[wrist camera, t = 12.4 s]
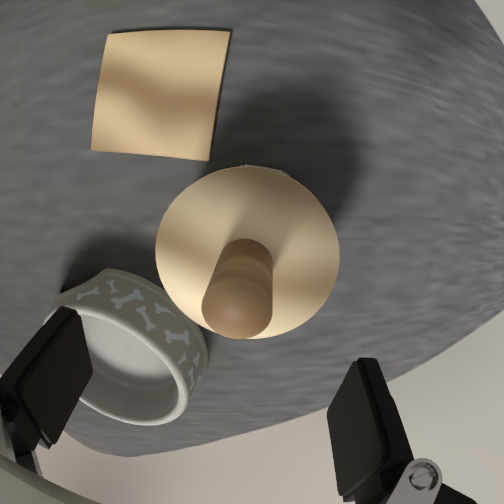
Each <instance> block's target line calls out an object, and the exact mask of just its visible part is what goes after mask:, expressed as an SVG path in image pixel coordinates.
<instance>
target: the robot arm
mask: <svg viewBox="0 0 504 504" xmlns="http://www.w3.org/2000/svg"><path fill="white" fill-rule="evenodd" d="M92 373H93V367H92V363H91V359H90V355H89V351H88V347H87V342H86V338H85V333H84V328H83V323H82V318H81V316H80V315H78V312H77V310H75V309H72V308H69V307H65V306H60V307H59V308H58V309H57V310H56V311H55V313H54V314H53V315H52V316H51V317H50V318H49V319H48V320H47V322H46V323H45V324H44V325H43V326H42V327H41V328H40V330H39V331H38V332H37V333H36V334H35V335H34V337H33V338H32V339H31V340H30V341H29V343H28V344H27V345H26V346H25V347H24V349H23V350H22V351H21V352H20V354H19V355H18V356H17V357H16V359H15V360H14V361H13V362H12V364H11V365H10V366H9V367H8V369H7V370H6V371H5V373H4V374H3V375H2V377H1V378H0V504H101V503H98V502H95V501H93V500H90V499H88V498H85V497H83V496H80V495H78V494H76V493H74V492H71V491H69V490H67V489H65V488H63V487H60V486H58V485H56V484H54V483H52V482H50V481H48V480H46V479H44V478H43V476H42V472H41V469H40V466H39V463H38V460H37V456H36V452H35V448H36V446H37V444H39V445H41V446H43V447H45V448H47V449H50V447H51V445H52V444H55V443H56V442H57V441H58V439H59V437H60V435H61V433H62V431H63V429H64V427H65V425H66V423H67V421H68V419H69V417H70V415H71V413H72V412H73V410H74V408H75V406H76V404H77V402H78V400H79V398H80V397H81V395H82V393H83V391H84V389H85V387H86V386H87V384H88V382H89V380H90V378H91V376H92ZM327 420H328V426H329V432H330V438H331V445H332V452H333V459H334V466H335V473H336V480H337V488H338V493H339V495H340V496H343V502H351V501H355V503H356V504H477V503H476V502H475V501H474V500H473V499H471V498H469V497H467V496H466V495H463V494H462V493H460V492H458V491H456V490H454V489H452V488H451V487H449V486H447V485H445V484H443V483H442V473H441V470H440V468H439V467H438V466H437V464H436V463H434V462H433V461H431V460H429V459H426V458H419V459H415V460H414V457H413V454H412V451H411V448H410V445H409V442H408V439H407V436H406V433H405V430H404V427H403V424H402V421H401V418H400V416H399V413H398V410H397V407H396V404H395V402H394V399H393V398H392V396H391V395H390V392H389V390H388V387H387V384H386V382H385V379H384V376H383V374H382V371H381V369H380V366H379V364H378V361H377V359H375V358H359V359H358V360H357V361H354V362H353V363H352V364H351V366H350V368H349V370H348V372H347V374H346V376H345V378H344V380H343V382H342V384H341V386H340V388H339V390H338V392H337V393H336V395H335V397H334V399H333V401H332V403H331V404H330V406H329V408H328V411H327Z"/></svg>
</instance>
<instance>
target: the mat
mask: <svg viewBox="0 0 504 504" xmlns="http://www.w3.org/2000/svg"><path fill="white" fill-rule="evenodd" d="M230 34H231V33H230V32H226V31H209V30H155V31H139V32H127V33H117V34H109V35H108V37H107V42H106V46H105V51H104V56H103V61H102V66H101V71H100V77H99V83H98V89H97V96H96V104H95V112H94V120H93V130H92V142H91V151H106V152H121V153H135V154H146V155H157V156H167V157H176V158H185V159H193V160H201V161H209V158H210V151H211V144H212V137H213V131H214V124H215V118H216V111H217V105H218V99H219V93H220V87H221V82H222V76H223V70H224V65H225V60H226V54H227V49H228V44H229V39H230Z"/></svg>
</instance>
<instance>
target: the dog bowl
mask: <svg viewBox="0 0 504 504" xmlns="http://www.w3.org/2000/svg"><path fill="white" fill-rule="evenodd" d="M61 290H62V289H61ZM61 290H60V291H59V293H58V295H57V297H56V299H55V302H54V304H53V305H52V307H51V309H50V311H49V313H48V314H47V316H46V318H45V320H44V322H43V325H44V324H45V323H46V322H47V320H48V319H49V318H50V317H51V316H52V315H53V314H54V313H55V311H56V310H57V309H58V308H59V307H60V306H65V307H69V308H72V309H75V310H77V312H78V315H80V316H81V318H82V323H83V328H84V333H85V338H86V342H87V347H88V351H89V355H90V359H91V363H92V367H93V373H92V376H91V378H90V380H89V382H88V384H87V386H86V387H85V389H84V391H83V393H82V395H81V397H80V398H79V399H80V400H81V401H82V402H84V403H85V404H87V405H88V406H90V407H91V408H93V409H95V410H97V411H98V412H100V413H102V414H104V415H107V416H109V417H111V418H114V419H117V420H120V421H123V422H127V423H131V424H137V425H159V424H164V423H167V422H170V421H172V420H174V419H176V418H177V417H178V416H180V415H181V414H182V413H183V411H184V410H185V408H186V407H187V405H188V403H189V402H190V400H191V398H192V396H193V395H194V393H195V391H196V389H197V388H198V387H199V385H200V384H201V382H202V381H203V379H204V377H205V374H206V371H207V366H208V351H207V346H206V343H205V340H204V337H203V335H202V333H201V331H200V329H199V327H198V325H197V324H196V322H194V321H193V320H192V319H190V318H189V317H188V316H186V315H185V314H184V313H183V312H182V311H181V310H180V309H179V308H178V307H177V306H176V304H175V303H174V302H173V301H172V299H171V298H170V296H169V295H168V293H167V292H166V291H165V290H163V289H162V288H160V287H159V286H157V285H156V284H154V283H152V282H150V281H148V280H146V279H144V278H142V277H140V276H138V275H135V274H132V273H129V272H126V271H122V270H118V269H112V268H106V269H104V270H102V271H101V272H100V273H99V274H97V275H96V276H95V277H93V278H92V279H90V280H88V281H87V282H85V283H83V284H81V285H79V286H76V287H74V288H72V289H70V290H68V291H66V292H63V293H61V294H60V292H61ZM43 325H42V326H43Z"/></svg>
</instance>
